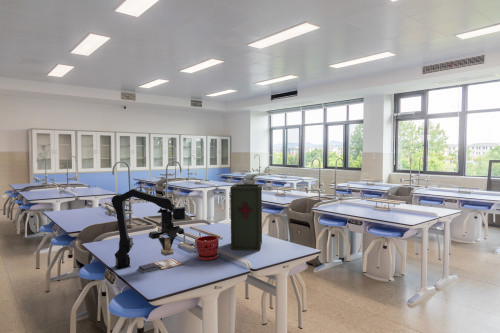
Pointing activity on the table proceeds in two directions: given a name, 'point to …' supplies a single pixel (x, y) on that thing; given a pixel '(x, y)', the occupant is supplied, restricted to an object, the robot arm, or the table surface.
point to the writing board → (167, 263)
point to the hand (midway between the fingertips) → (167, 248)
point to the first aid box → (246, 216)
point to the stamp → (167, 247)
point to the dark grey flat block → (147, 267)
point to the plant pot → (207, 247)
